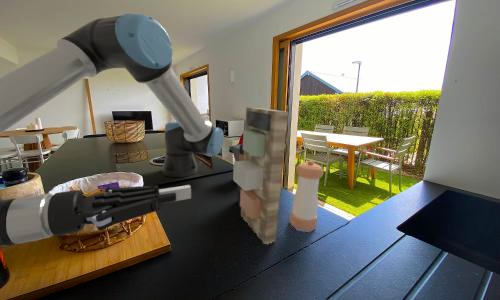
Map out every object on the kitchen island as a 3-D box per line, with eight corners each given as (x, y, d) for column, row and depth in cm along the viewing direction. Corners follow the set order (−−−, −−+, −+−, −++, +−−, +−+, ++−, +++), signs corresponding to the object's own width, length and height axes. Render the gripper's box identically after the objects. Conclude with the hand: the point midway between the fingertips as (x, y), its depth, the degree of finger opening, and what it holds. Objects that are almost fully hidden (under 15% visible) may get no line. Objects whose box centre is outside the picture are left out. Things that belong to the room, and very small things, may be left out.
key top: (242, 149, 52) (243, 130, 51) (259, 148, 55) (260, 129, 53) (255, 156, 46) (257, 135, 45) (274, 155, 49) (275, 134, 47)
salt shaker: (314, 235, 54) (325, 167, 50) (287, 228, 56) (295, 162, 52) (316, 221, 61) (325, 159, 56) (291, 215, 63) (298, 155, 59)
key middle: (233, 179, 53) (233, 161, 52) (250, 177, 55) (251, 159, 54) (244, 190, 47) (245, 170, 46) (263, 187, 49) (264, 168, 48)
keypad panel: (238, 215, 61) (244, 107, 53) (249, 213, 63) (256, 107, 55) (262, 245, 49) (274, 111, 41) (275, 241, 51) (288, 111, 43)
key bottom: (239, 205, 56) (240, 189, 55) (255, 202, 58) (256, 186, 57) (251, 219, 50) (252, 200, 49) (268, 215, 52) (270, 197, 51)
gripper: (68, 214, 42) (185, 194, 53) (43, 258, 31) (197, 221, 42) (61, 180, 40) (184, 167, 51) (32, 215, 29) (196, 188, 40)
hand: (190, 191), depth 47 cm, fingers closed
